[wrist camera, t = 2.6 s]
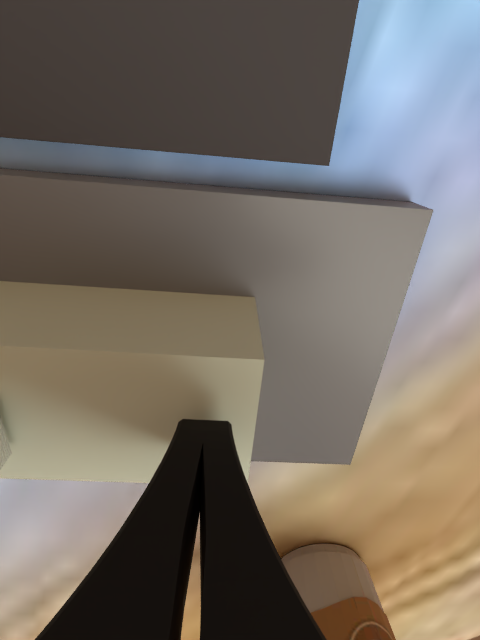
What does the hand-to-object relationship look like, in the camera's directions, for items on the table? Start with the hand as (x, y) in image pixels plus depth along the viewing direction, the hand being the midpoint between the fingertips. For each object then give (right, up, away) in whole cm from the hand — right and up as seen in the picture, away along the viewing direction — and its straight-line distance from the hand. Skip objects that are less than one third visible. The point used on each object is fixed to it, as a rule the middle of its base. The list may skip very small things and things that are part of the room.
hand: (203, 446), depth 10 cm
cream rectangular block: (-3, +2, +4) cm, 6 cm away
